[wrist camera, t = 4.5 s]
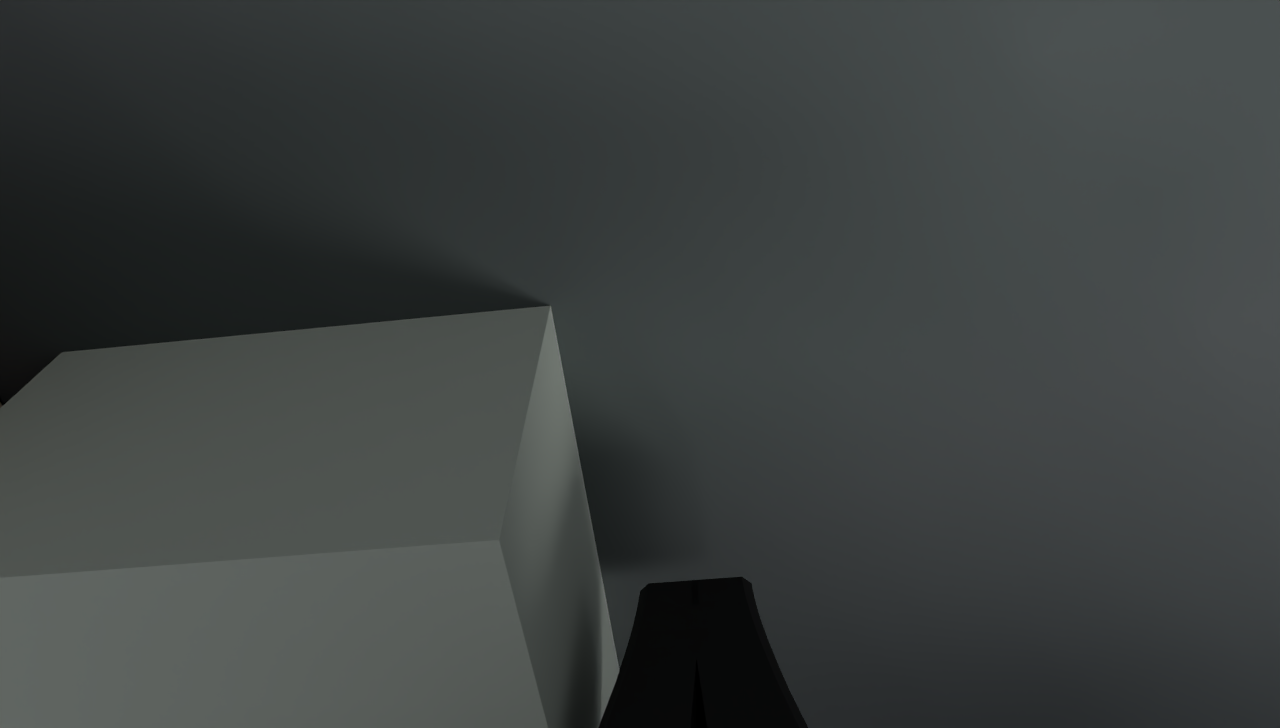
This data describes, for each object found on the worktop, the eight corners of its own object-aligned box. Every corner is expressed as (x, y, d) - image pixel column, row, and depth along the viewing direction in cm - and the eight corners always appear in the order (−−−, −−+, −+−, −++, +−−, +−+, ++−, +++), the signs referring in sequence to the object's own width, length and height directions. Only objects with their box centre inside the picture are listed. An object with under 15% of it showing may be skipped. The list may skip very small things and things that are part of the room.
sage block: (550, 304, 11) (499, 540, 7) (633, 742, 15) (624, 1023, 11) (63, 350, 11) (-204, 593, 8) (275, 763, 15) (164, 1039, 12)
